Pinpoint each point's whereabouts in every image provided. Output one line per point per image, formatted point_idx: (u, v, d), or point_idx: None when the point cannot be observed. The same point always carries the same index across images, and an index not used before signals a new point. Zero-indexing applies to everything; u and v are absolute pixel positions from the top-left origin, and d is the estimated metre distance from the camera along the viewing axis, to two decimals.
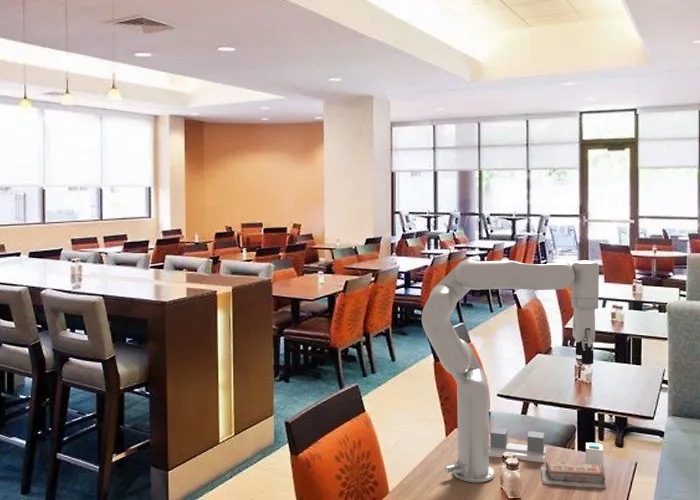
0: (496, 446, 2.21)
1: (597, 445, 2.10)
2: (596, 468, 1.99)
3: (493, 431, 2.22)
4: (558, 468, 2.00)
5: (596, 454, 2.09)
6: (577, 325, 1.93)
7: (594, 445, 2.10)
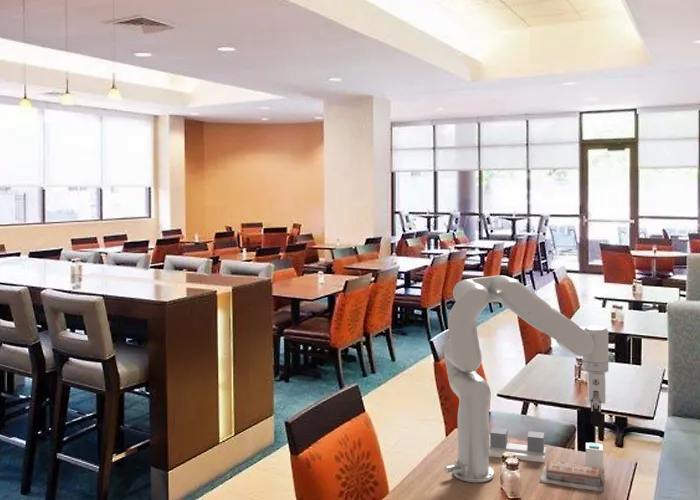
0: (496, 446, 2.21)
1: (597, 445, 2.10)
2: (596, 471, 1.97)
3: (493, 431, 2.22)
4: (556, 468, 2.01)
5: (596, 454, 2.09)
6: None
7: (594, 445, 2.10)
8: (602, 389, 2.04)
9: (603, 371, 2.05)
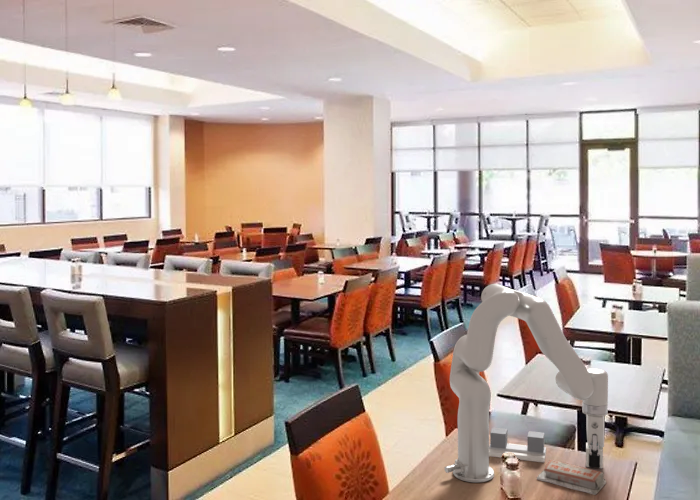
0: (496, 446, 2.21)
1: None
2: (593, 474, 1.95)
3: (493, 431, 2.22)
4: (554, 467, 2.01)
5: None
6: None
7: None
8: (601, 432, 2.05)
9: (602, 414, 2.06)
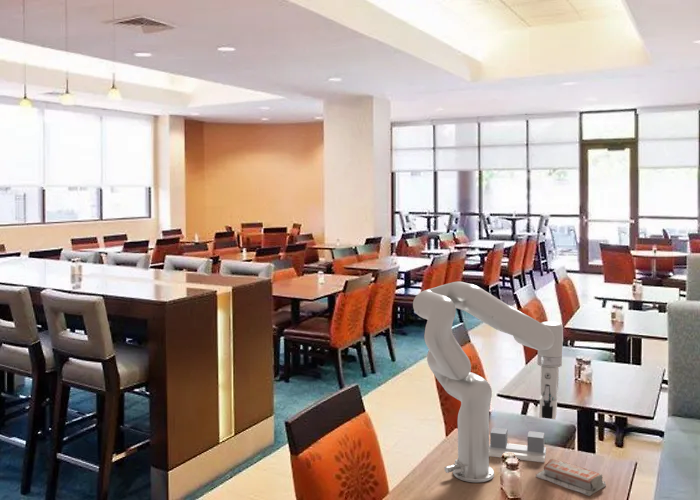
0: (496, 446, 2.21)
1: None
2: (591, 475, 1.94)
3: (493, 431, 2.22)
4: (554, 466, 2.02)
5: None
6: None
7: None
8: (553, 383, 2.09)
9: (555, 366, 2.10)
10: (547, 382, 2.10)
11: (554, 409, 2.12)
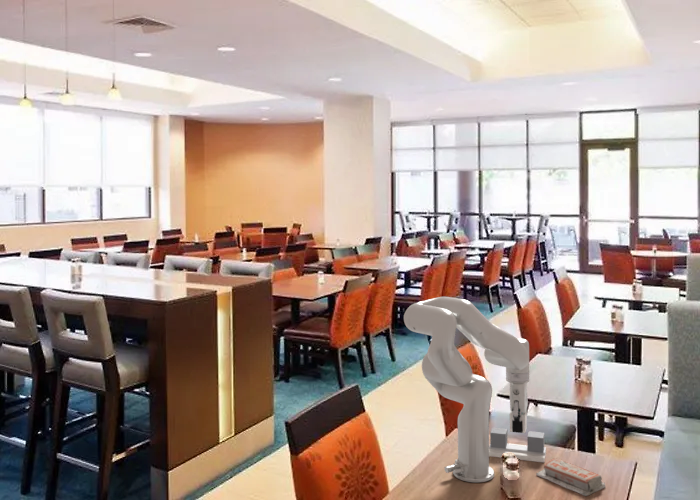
0: (496, 446, 2.21)
1: None
2: (589, 476, 1.94)
3: (493, 431, 2.22)
4: (554, 465, 2.02)
5: None
6: None
7: None
8: (522, 399, 2.14)
9: (523, 381, 2.15)
10: (516, 398, 2.15)
11: (524, 423, 2.17)
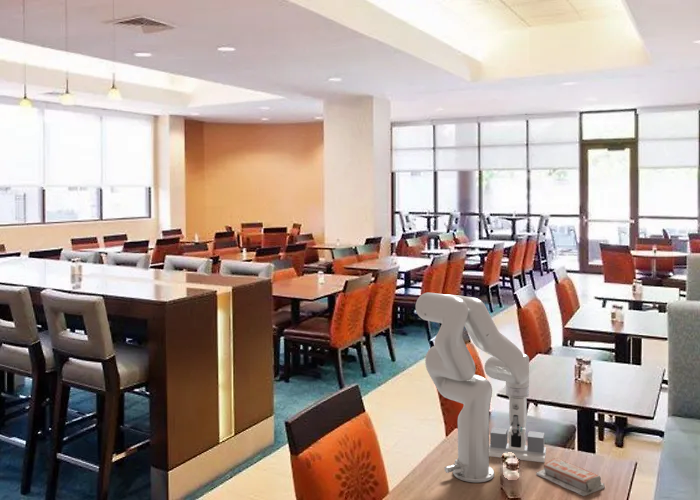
0: (496, 446, 2.21)
1: None
2: (588, 476, 1.94)
3: (493, 431, 2.22)
4: (554, 465, 2.03)
5: None
6: None
7: None
8: (521, 413, 2.14)
9: (523, 396, 2.16)
10: (515, 413, 2.15)
11: (522, 441, 2.18)
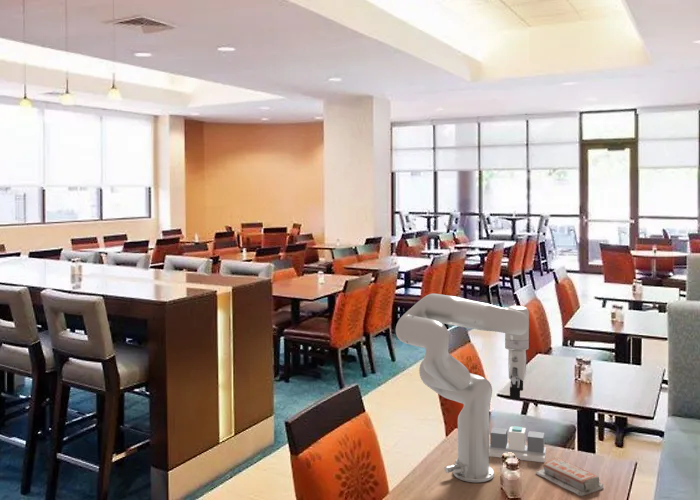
0: (496, 446, 2.21)
1: (519, 428, 2.20)
2: (586, 476, 1.94)
3: (493, 431, 2.22)
4: (553, 464, 2.03)
5: (518, 437, 2.18)
6: None
7: (516, 429, 2.19)
8: (521, 366, 2.13)
9: (522, 349, 2.14)
10: (514, 365, 2.14)
11: (522, 441, 2.18)
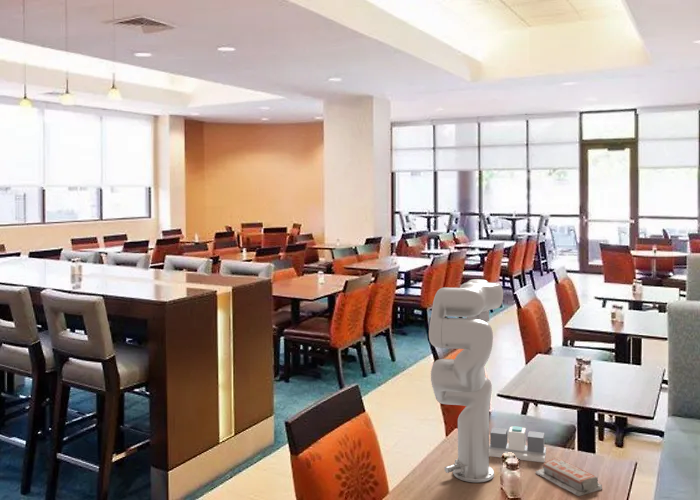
0: (496, 446, 2.21)
1: (519, 428, 2.20)
2: (584, 476, 1.94)
3: (493, 431, 2.22)
4: (552, 464, 2.03)
5: (518, 437, 2.18)
6: None
7: (516, 429, 2.19)
8: None
9: (483, 320, 2.21)
10: None
11: (522, 441, 2.18)
